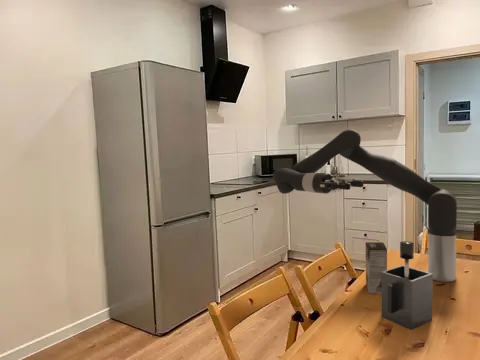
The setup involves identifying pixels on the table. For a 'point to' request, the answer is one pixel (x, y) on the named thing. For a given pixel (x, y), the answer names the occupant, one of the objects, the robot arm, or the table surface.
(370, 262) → the coffee box
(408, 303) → the box
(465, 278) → the table surface
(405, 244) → the plunger
